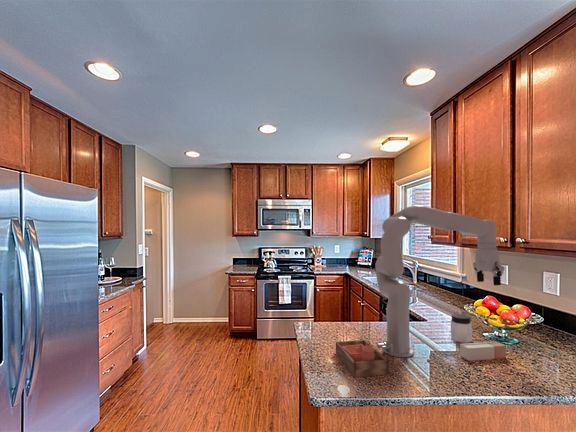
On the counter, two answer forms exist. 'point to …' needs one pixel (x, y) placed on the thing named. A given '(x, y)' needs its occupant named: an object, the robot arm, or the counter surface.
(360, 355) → the pottery
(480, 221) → the robot arm
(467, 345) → the beige box
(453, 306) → the counter surface
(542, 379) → the counter surface
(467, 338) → the jar
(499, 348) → the stub
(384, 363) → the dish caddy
